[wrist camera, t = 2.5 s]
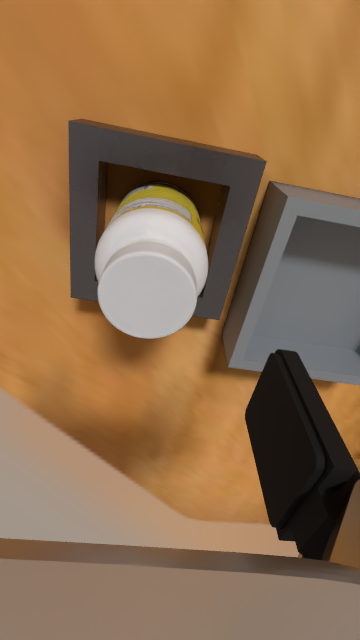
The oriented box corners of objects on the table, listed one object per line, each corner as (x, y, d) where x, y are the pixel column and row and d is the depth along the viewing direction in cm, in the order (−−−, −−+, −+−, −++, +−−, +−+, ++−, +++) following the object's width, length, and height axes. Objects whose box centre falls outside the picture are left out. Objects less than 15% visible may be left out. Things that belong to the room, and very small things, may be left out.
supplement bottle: (186, 271, 23) (188, 365, 15) (110, 250, 22) (68, 336, 14) (212, 195, 20) (235, 258, 12) (127, 167, 19) (86, 213, 11)
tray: (443, 215, 20) (494, 236, 17) (356, 353, 27) (381, 388, 23) (269, 180, 19) (288, 196, 16) (221, 333, 26) (228, 367, 22)
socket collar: (256, 155, 19) (266, 161, 16) (215, 301, 24) (219, 320, 22) (81, 118, 18) (68, 120, 15) (80, 280, 23) (70, 297, 21)
